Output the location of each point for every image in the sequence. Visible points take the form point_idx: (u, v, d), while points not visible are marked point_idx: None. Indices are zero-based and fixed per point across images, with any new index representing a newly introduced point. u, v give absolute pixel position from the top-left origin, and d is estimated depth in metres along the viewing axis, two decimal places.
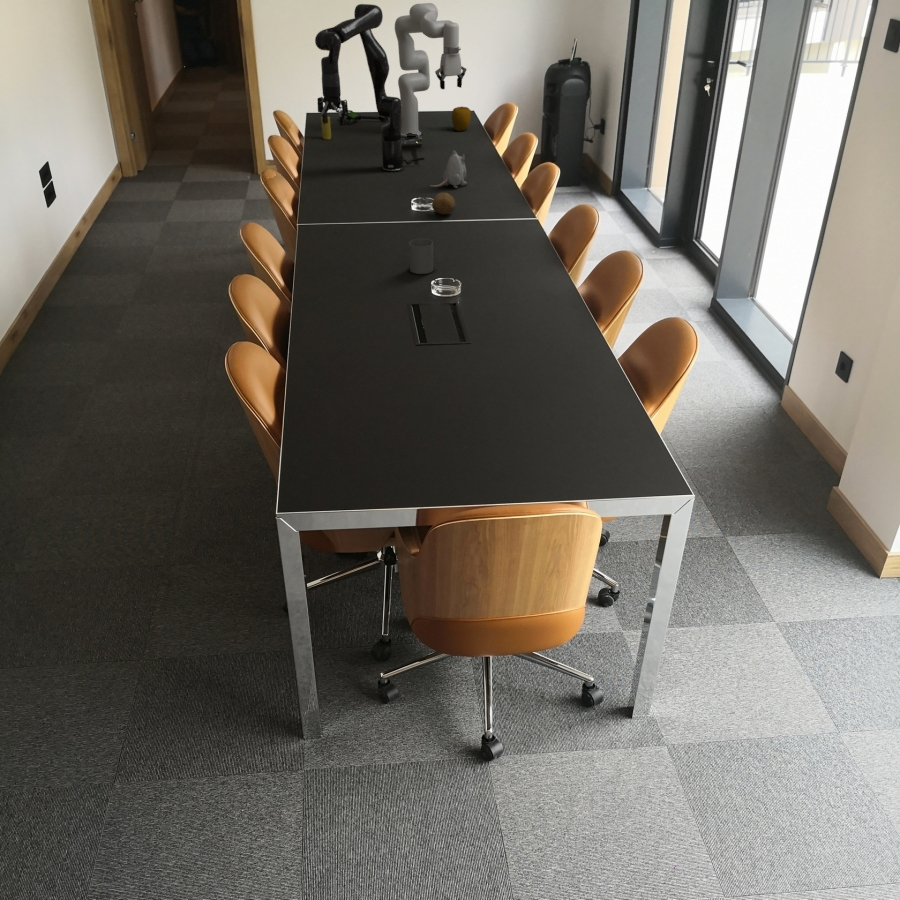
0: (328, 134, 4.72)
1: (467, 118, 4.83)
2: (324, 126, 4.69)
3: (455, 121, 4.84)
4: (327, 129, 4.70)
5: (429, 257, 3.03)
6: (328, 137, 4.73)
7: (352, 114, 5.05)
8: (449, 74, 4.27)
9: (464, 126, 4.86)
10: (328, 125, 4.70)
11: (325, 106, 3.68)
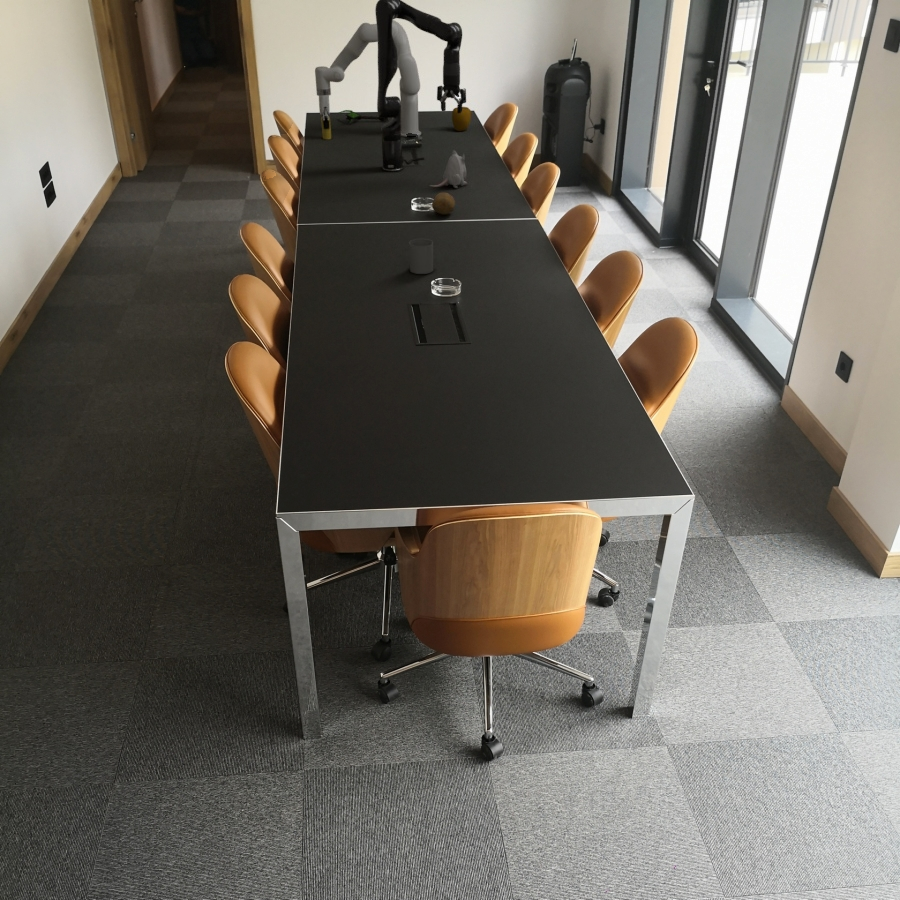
0: (328, 134, 4.72)
1: (467, 118, 4.83)
2: None
3: (455, 121, 4.84)
4: (327, 129, 4.70)
5: (429, 257, 3.03)
6: (328, 137, 4.73)
7: (352, 114, 5.05)
8: None
9: (464, 126, 4.86)
10: None
11: (444, 94, 3.86)
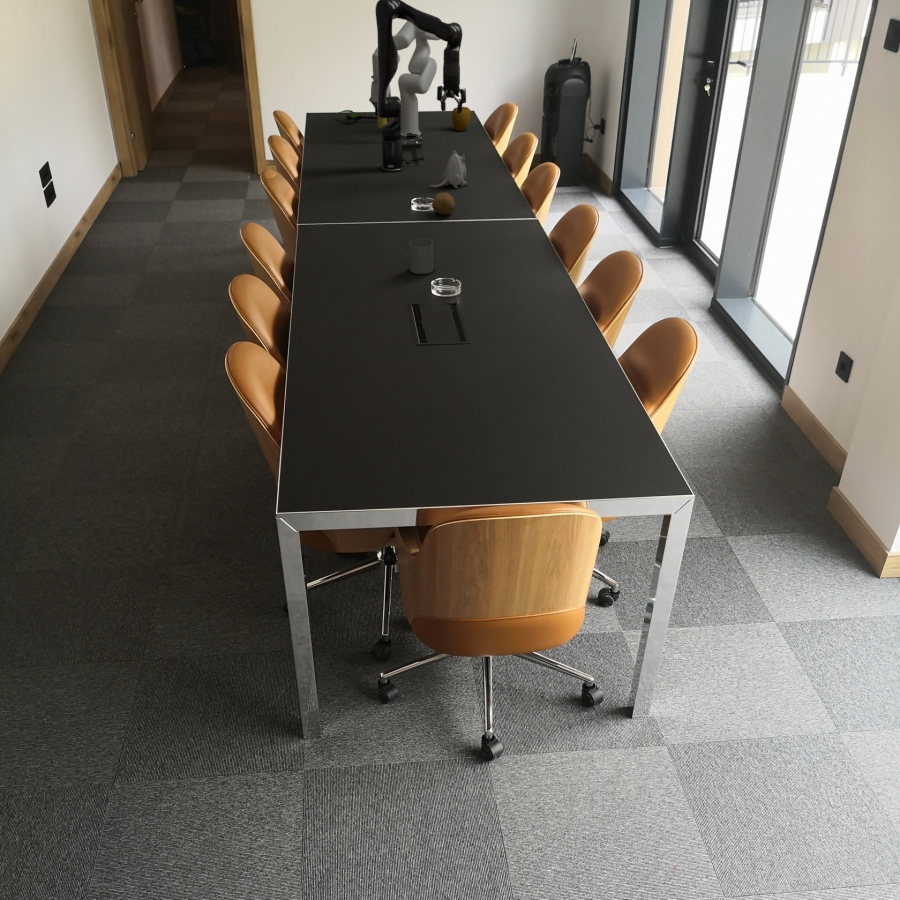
0: (386, 121, 4.59)
1: (467, 118, 4.83)
2: None
3: (455, 121, 4.84)
4: None
5: (429, 257, 3.03)
6: None
7: (352, 114, 5.05)
8: None
9: (464, 126, 4.86)
10: None
11: (444, 94, 3.86)
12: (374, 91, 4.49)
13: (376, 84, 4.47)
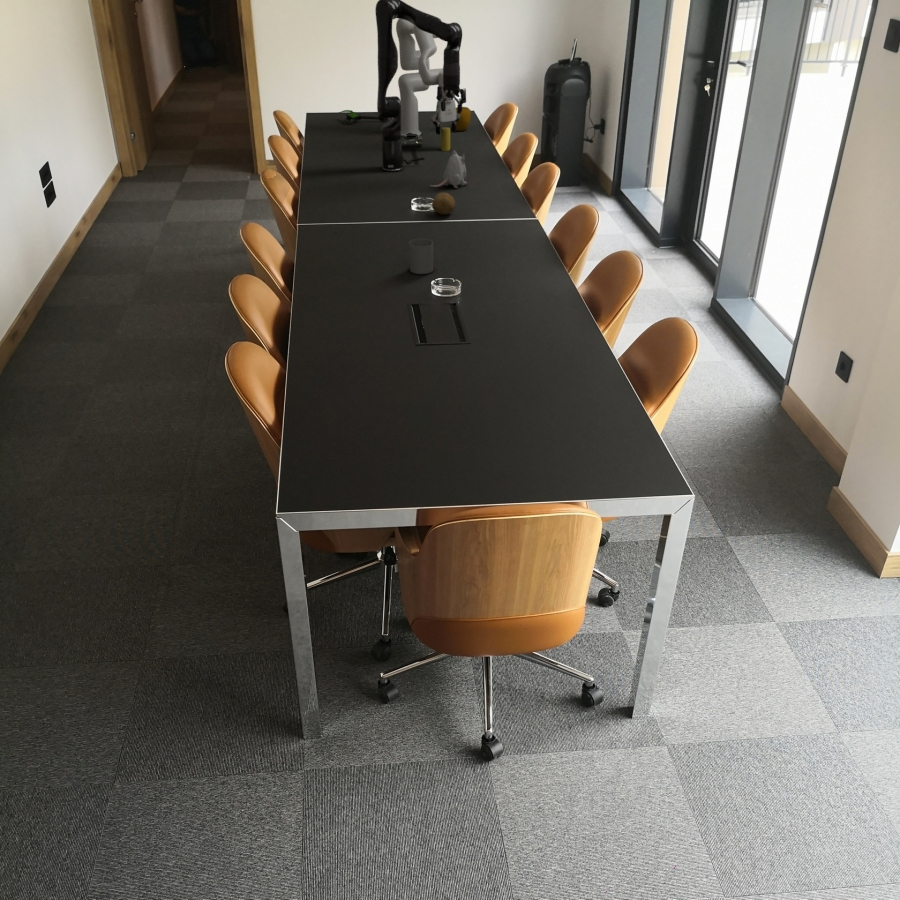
0: None
1: (467, 118, 4.83)
2: None
3: None
4: None
5: (429, 257, 3.03)
6: None
7: (352, 114, 5.05)
8: None
9: (464, 126, 4.86)
10: None
11: (444, 94, 3.86)
12: (444, 111, 4.40)
13: (447, 103, 4.39)
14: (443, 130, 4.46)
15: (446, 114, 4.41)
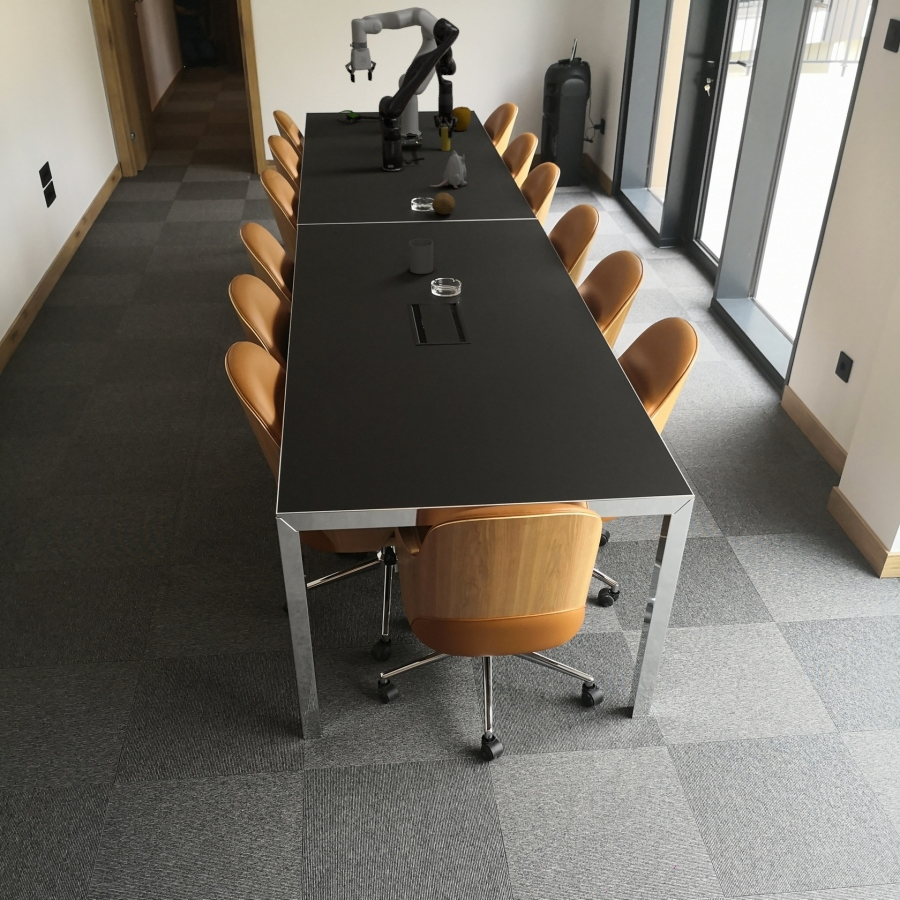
0: None
1: (467, 118, 4.83)
2: None
3: None
4: None
5: (429, 257, 3.03)
6: None
7: (352, 114, 5.05)
8: None
9: (464, 126, 4.86)
10: None
11: (440, 121, 4.46)
12: (358, 59, 4.44)
13: (361, 51, 4.43)
14: (443, 130, 4.46)
15: (360, 62, 4.45)
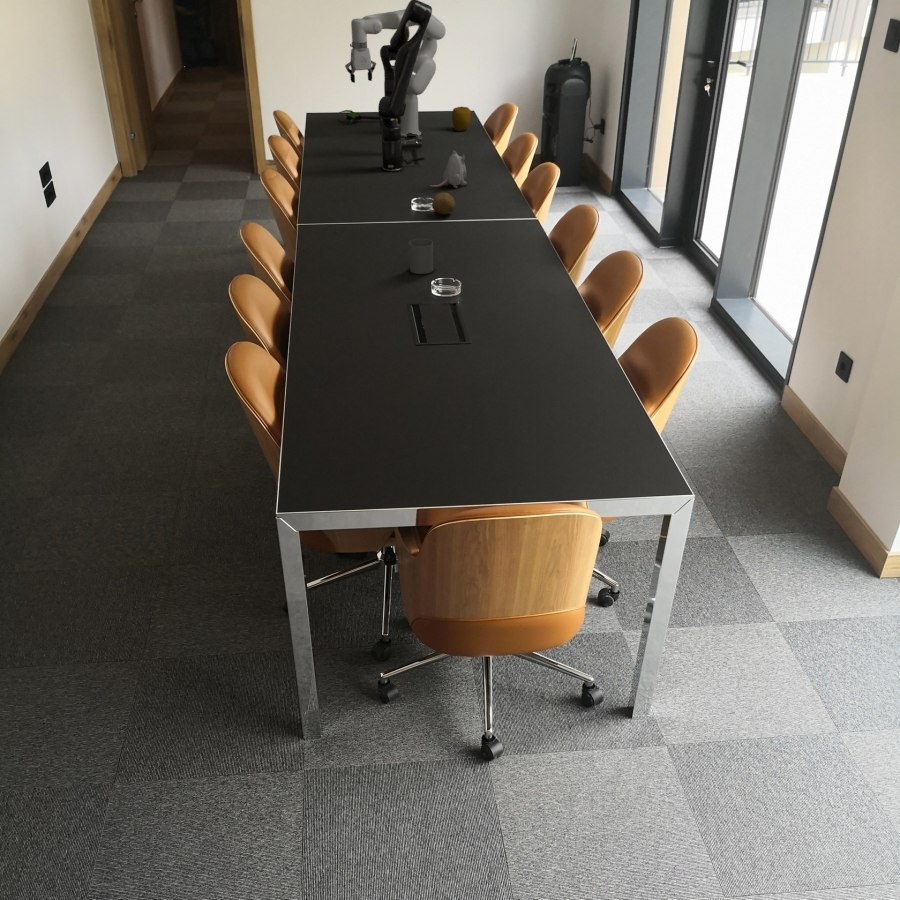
0: None
1: (467, 118, 4.83)
2: None
3: (455, 121, 4.84)
4: None
5: (429, 257, 3.03)
6: None
7: (352, 114, 5.05)
8: None
9: (464, 126, 4.86)
10: None
11: None
12: (358, 59, 4.44)
13: (361, 51, 4.43)
14: None
15: (360, 62, 4.45)
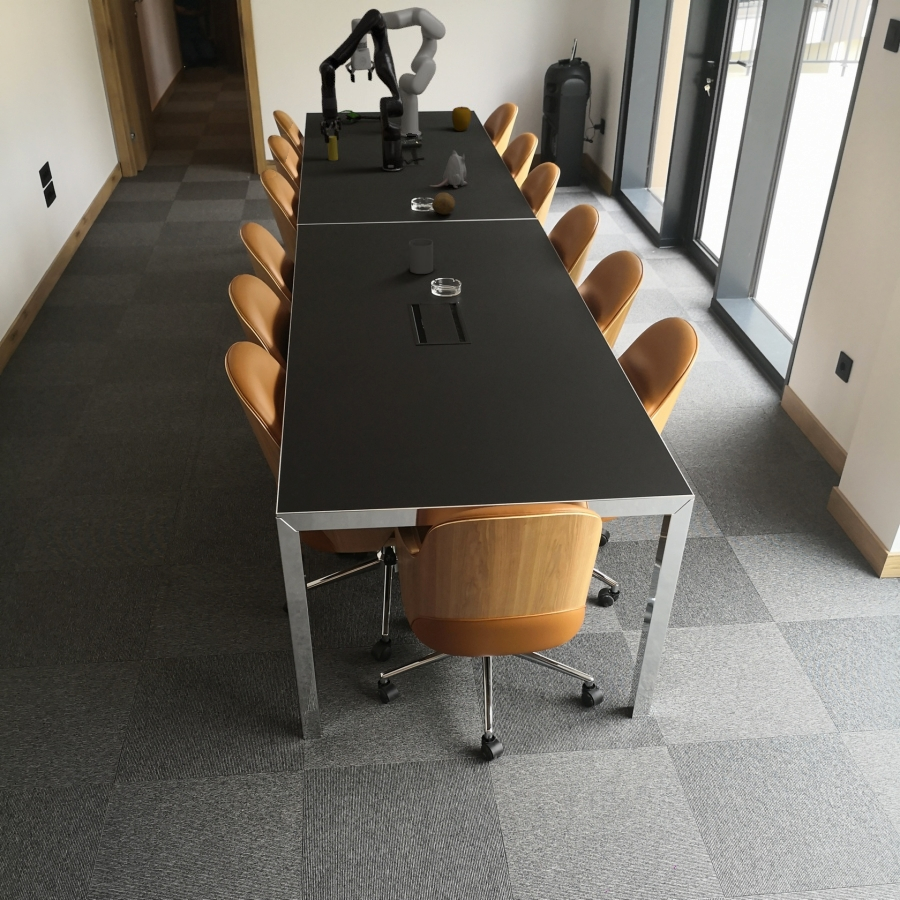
0: None
1: (467, 118, 4.83)
2: None
3: (455, 121, 4.84)
4: None
5: (429, 257, 3.03)
6: None
7: (352, 114, 5.05)
8: None
9: (464, 126, 4.86)
10: None
11: (330, 126, 4.26)
12: (358, 59, 4.44)
13: (361, 51, 4.43)
14: (335, 138, 4.31)
15: (360, 62, 4.45)
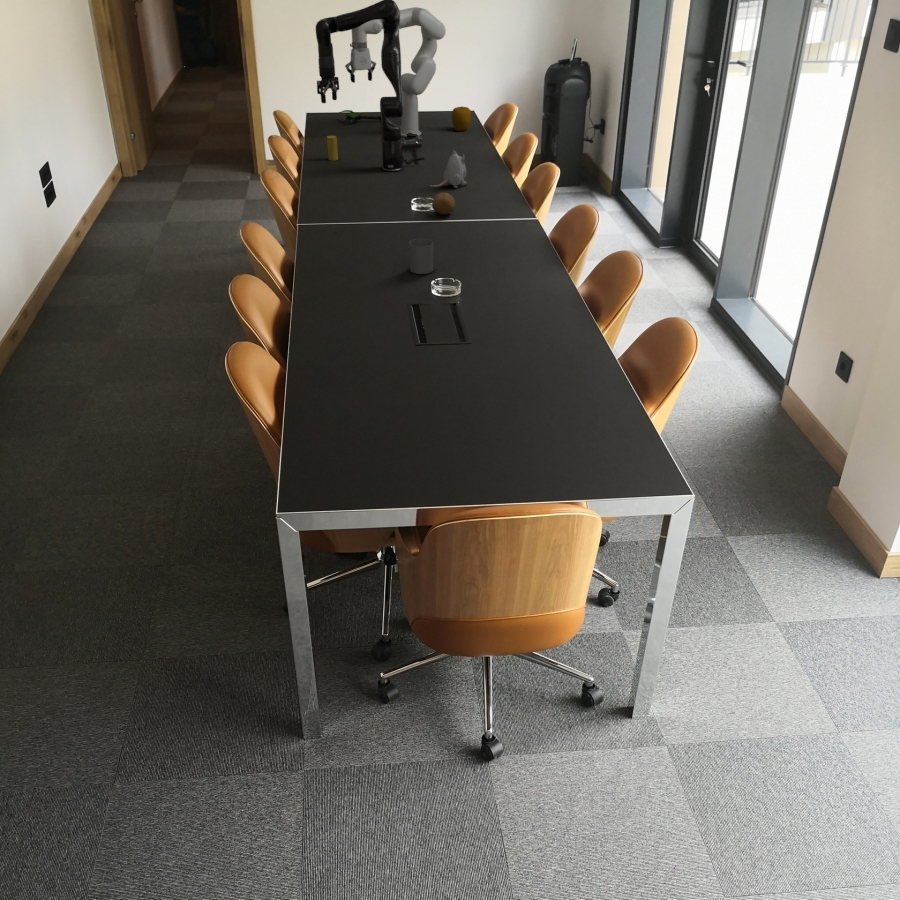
0: None
1: (467, 118, 4.83)
2: None
3: (455, 121, 4.84)
4: None
5: (429, 257, 3.03)
6: None
7: (352, 114, 5.05)
8: None
9: (464, 126, 4.86)
10: None
11: (327, 86, 4.16)
12: (358, 59, 4.44)
13: (361, 51, 4.43)
14: (335, 138, 4.31)
15: (360, 62, 4.45)
